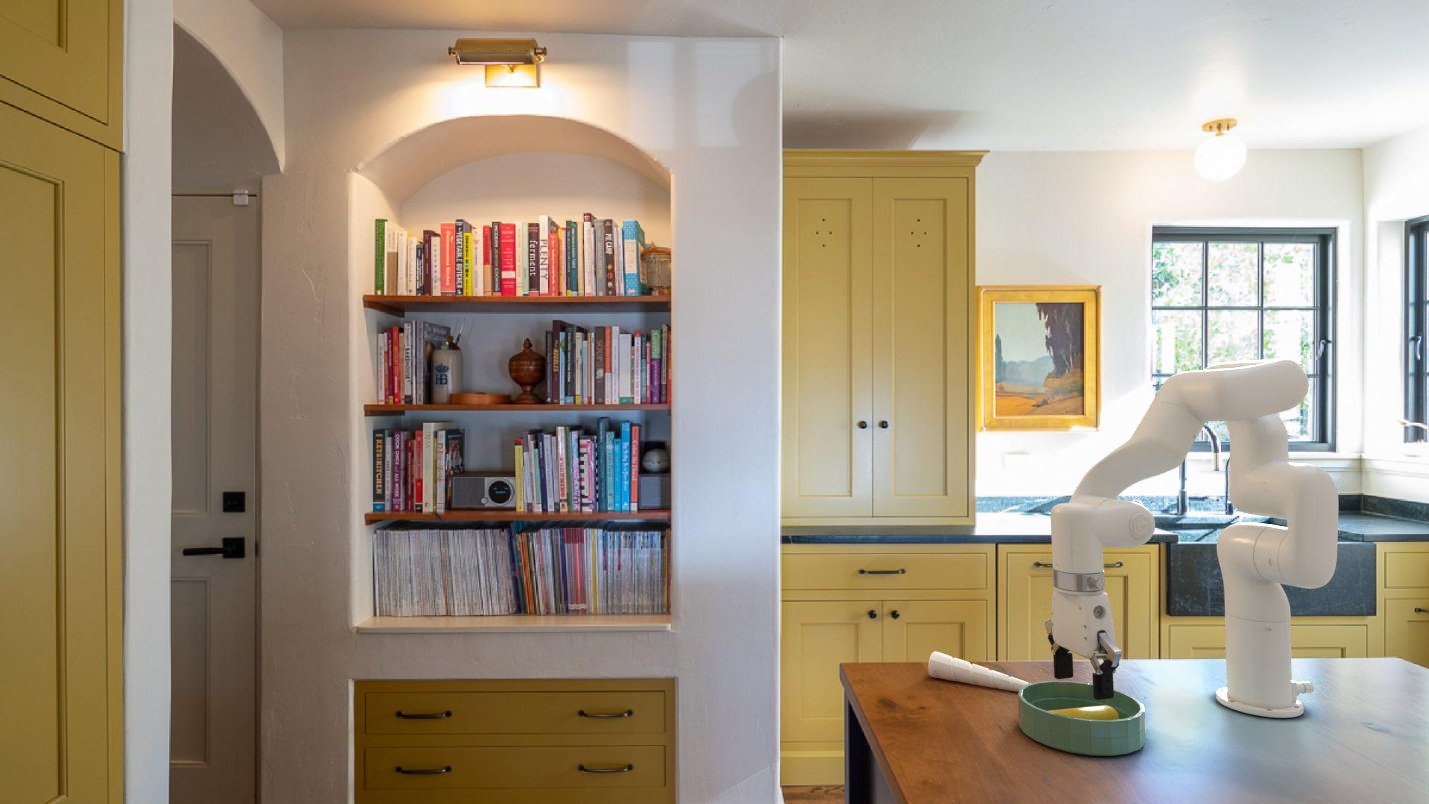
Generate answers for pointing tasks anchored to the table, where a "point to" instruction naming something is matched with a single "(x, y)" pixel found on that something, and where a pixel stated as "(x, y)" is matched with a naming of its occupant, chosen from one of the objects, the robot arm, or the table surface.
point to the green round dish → (1076, 731)
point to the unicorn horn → (970, 673)
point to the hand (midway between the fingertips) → (1083, 687)
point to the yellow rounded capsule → (1089, 713)
